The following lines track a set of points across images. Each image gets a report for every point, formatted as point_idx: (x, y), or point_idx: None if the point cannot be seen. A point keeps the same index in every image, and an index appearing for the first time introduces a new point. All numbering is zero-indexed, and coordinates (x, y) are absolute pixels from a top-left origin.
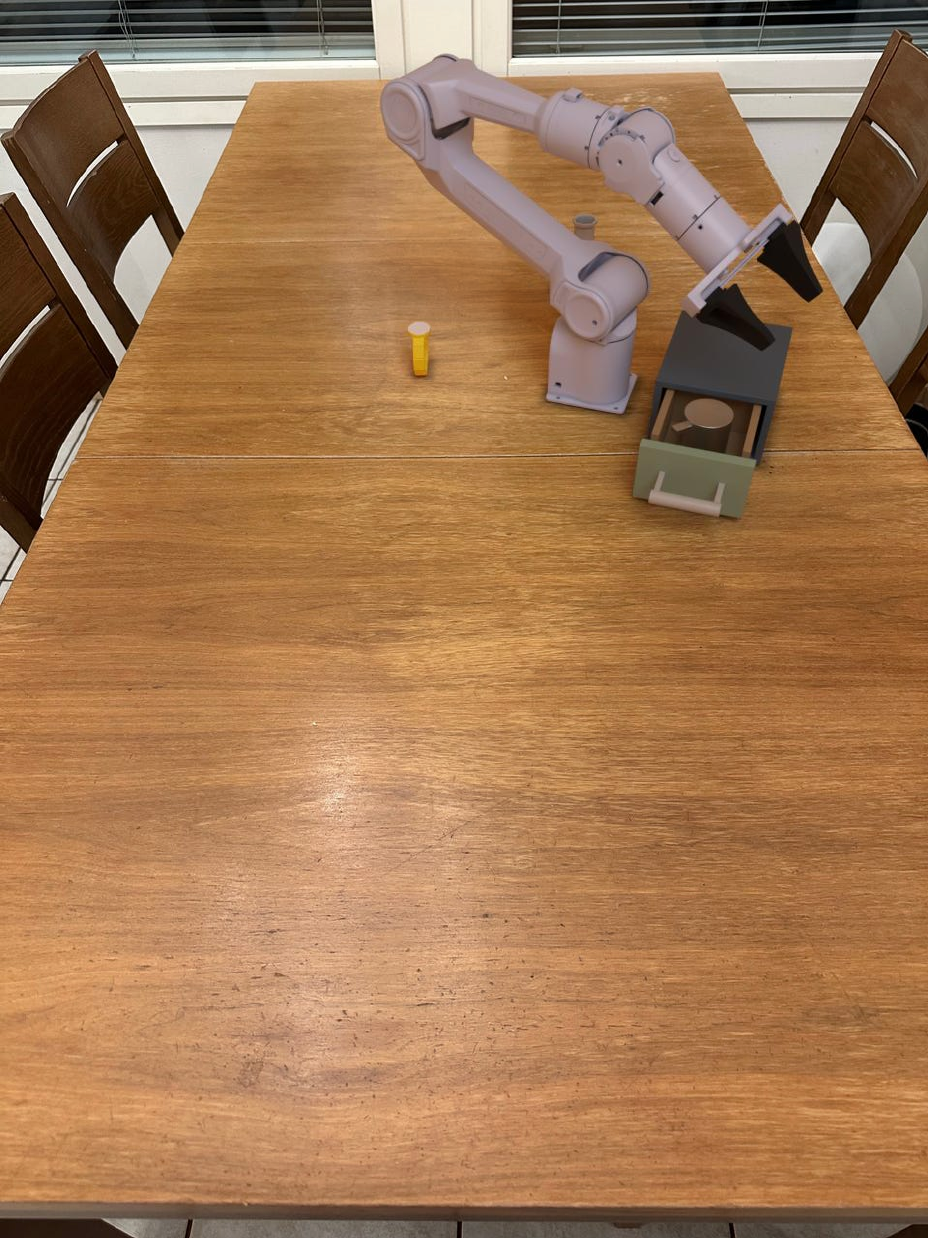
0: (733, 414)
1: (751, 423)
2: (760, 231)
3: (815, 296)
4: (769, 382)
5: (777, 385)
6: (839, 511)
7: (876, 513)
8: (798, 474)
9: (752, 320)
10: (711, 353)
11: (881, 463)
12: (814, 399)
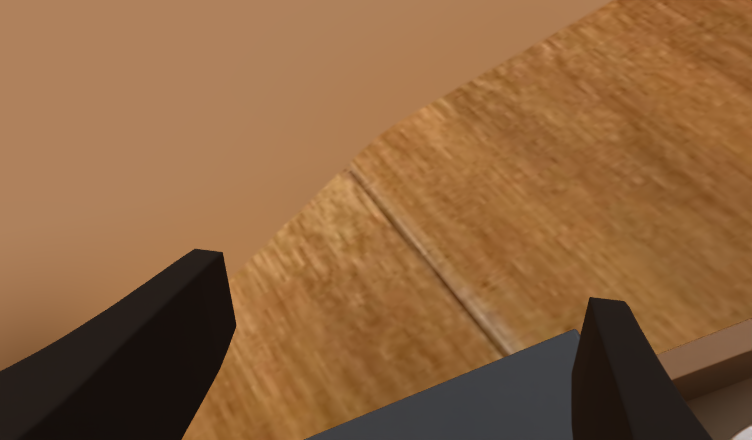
0: (744, 428)
1: (714, 356)
2: None
3: (227, 278)
4: (493, 402)
5: (492, 370)
6: (621, 151)
7: (570, 101)
8: (566, 284)
9: (678, 420)
10: None
11: (415, 178)
12: (288, 398)
